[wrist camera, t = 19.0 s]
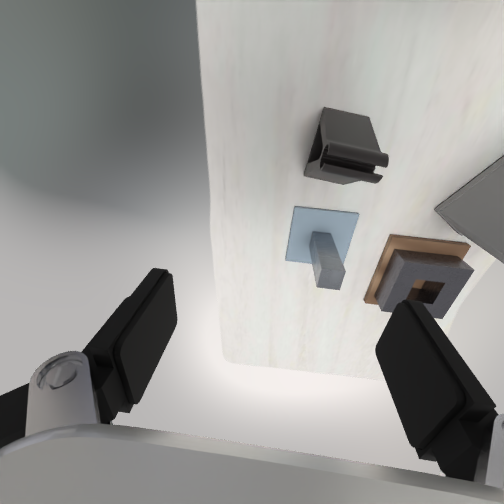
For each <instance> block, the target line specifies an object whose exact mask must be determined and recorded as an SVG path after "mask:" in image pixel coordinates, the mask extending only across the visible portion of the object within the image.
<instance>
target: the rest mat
mask: <svg viewBox="0 0 504 504" xmlns="http://www.w3.org/2000/svg"><path fill="white" fill-rule="evenodd" d="M358 217H359V213H353V212H344V211H335V210H326V209H317V208H307V207H298V206H295V207H294V213H293V219H292V225H291V231H290V236H289V242H288V248H287V254H286V261H293V262H302V263H310V264H312V260H311V255H310V250H309V244H310V240H311V235H312V231H317V232H326V233H331V235H332V237H333V240H334V243H335V245H336V248H337V250H338V253H339V256H340V258H341V261H342V263H343V264H344V261H345V258H346V254H347V251H348V248H349V245H350V242H351V239H352V236H353V232H354V229H355V226H356V223H357V220H358Z"/></svg>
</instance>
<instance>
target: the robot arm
mask: <svg viewBox="0 0 504 504" xmlns="http://www.w3.org/2000/svg"><path fill="white" fill-rule="evenodd" d="M176 325H177V312H176V303H175V294H174V285H173V276H172V274H170V273H169V272H168V270H166V269H157V268H153V269H152V270H151V271H150V272H149V273H148V275H147V276H146V277H145V278H144V280H143V281H142V282H141V283H140V285H139V286H138V287H137V288H136V290H135V291H134V292H133V293H132V295H131V296H129V297H127V298H126V299H125V300H124V301H123V302H122V303H121V304H120V305H119V307H118V308H117V309H116V310H115V312H114V313H113V314H112V315H111V316H110V318H109V319H108V320H107V321H106V323H105V324H104V325H103V326H102V327H101V329H100V330H99V331H98V332H97V334H96V335H95V336H94V337H93V339H92V340H91V341H90V342H89V343H88V345H87V346H86V347H85V349H83V351H82V352H78V351H68V352H64V353H60V354H58V355H56V356H54V357H51V358H50V359H49V360H47V361H45V362H44V363H43V364H42V365H40V366H39V367H38V368H37V369H36V371H35V372H34V374H33V375H32V377H31V380H30V383H28V384H26V385H23V386H21V387H19V388H17V389H14V390H12V391H10V392H8V393H5V394H3V395H1V396H0V504H504V414H500V415H498V414H497V412H496V411H495V410H494V408H495V407H496V405H495V403H494V402H493V400H492V399H491V398H490V396H489V395H488V394H487V392H486V391H485V389H484V388H483V387H482V385H481V384H480V382H479V381H478V380H477V378H476V377H475V375H474V374H473V373H472V371H471V370H470V368H469V367H468V366H467V364H466V363H465V361H464V360H463V359H462V357H461V356H460V355H459V353H458V352H457V350H456V349H455V347H454V346H453V345H452V343H451V342H450V341H449V339H448V338H447V336H446V335H445V333H444V332H443V331H442V329H441V328H440V326H439V325H438V324H437V322H436V321H435V319H434V318H433V317H432V315H431V314H430V313H429V311H428V310H427V308H426V307H425V306H424V304H423V303H422V302H420V301H413V300H403V301H402V302H401V303H398V304H397V305H396V307H395V309H394V311H393V313H392V315H391V317H390V319H389V321H388V323H387V325H386V327H385V329H384V331H383V333H382V335H381V337H380V339H379V341H378V343H377V345H376V349H375V352H376V356H377V359H378V361H379V364H380V367H381V369H382V372H383V375H384V377H385V380H386V383H387V385H388V388H389V390H390V393H391V395H392V398H393V401H394V404H395V406H396V409H397V412H398V414H399V417H400V419H401V422H402V425H403V427H404V430H405V433H406V435H407V438H408V441H409V443H410V444H411V446H412V447H415V449H416V452H417V454H418V457H419V459H423V460H429V461H437V463H438V465H439V467H440V469H441V471H440V474H439V475H433V474H428V473H422V472H417V471H411V470H405V469H399V468H393V467H387V466H380V465H375V464H369V463H363V462H357V461H351V460H345V459H338V458H332V457H326V456H320V455H314V454H307V453H301V452H295V451H288V450H282V449H276V448H270V447H264V446H257V445H251V444H245V443H238V442H232V441H226V440H219V439H213V438H206V437H200V436H193V435H187V434H180V433H174V432H167V431H160V430H152V429H145V428H138V427H130V426H121V425H113V423H112V420H113V419H115V417H116V415H117V413H118V411H119V412H125V413H130V411H131V409H132V407H133V405H134V404H138V403H139V402H140V400H141V398H142V396H143V394H144V391H145V389H146V387H147V385H148V383H149V381H150V379H151V377H152V375H153V373H154V371H155V369H156V367H157V365H158V363H159V360H160V358H161V356H162V354H163V352H164V350H165V348H166V346H167V344H168V342H169V340H170V338H171V336H172V334H173V332H174V330H175V327H176Z"/></svg>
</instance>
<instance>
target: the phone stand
mask: <svg viewBox="0 0 504 504" xmlns="http://www.w3.org/2000/svg"><path fill="white" fill-rule="evenodd" d="M388 161H389V157H388V154H385V153H382V152H381V151H380V148H379V145H378V142H377V139H376V136H375V133H374V130H373V127H372V124H371V121H370V118H369V117H367V116H362V115H358V114H353V113H349V112H344V111H340V110H335V109H331V108H326V107H324V109H323V112H322V115H321V119H320V122H319V125H318V129H317V132H316V135H315V139H314V143H313V146H312V149H311V152H310V156H309V159H308V163H307V166H306V169H305V173H304V176H306V177H311V178H315V179H320V180H324V181H329V182H333V183H338V184H342V185H344V184H348V183H352V182H357V181H366V182H370V183H378V182H379V181H380V180H381V179H382V177H383V176H382V175H379V174H375V173H374V172H373V171H374V170H375V166H381V167H385V168H386V167H387V166H388Z"/></svg>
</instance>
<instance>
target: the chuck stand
mask: <svg viewBox="0 0 504 504" xmlns="http://www.w3.org/2000/svg"><path fill="white" fill-rule="evenodd" d="M470 247H471V246H470V245H469V244H467V243H462V242H454V241H445V240H436V239H427V238H418V237H409V236H400V235H391V234H390V236H389V239H388V241H387V244H386V246H385V248H384V251H383V253H382V256H381V258H380V261H379V263H378V266H377V268H376V271H375V273H374V276H373V278H372V280H371V283H370V285H369V288H368V290H367V293H366V295H365V298H364V301H365V303H368V304H376V305H378V303H377V301H376V298H375V296H374V295H375V292H376V290H377V288H378V286H379V283H380V281H381V279H382V276H383V274H384V272H385V269H386V267H387V265H388V262H389V260H390V258H391V255H392V253H393V251H394V249H401V250H409V251H418V252H427V253H436V254H444V255H453V256H458V257H460V258H461V259H462V260H463V258H464V256H465V255H466V253H467V252H468V250H469V248H470ZM424 282H425V280H418V279H416V281H415V283H414V285H413V286H412V288H419V289H421V288H422V286H423V284H424Z"/></svg>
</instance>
